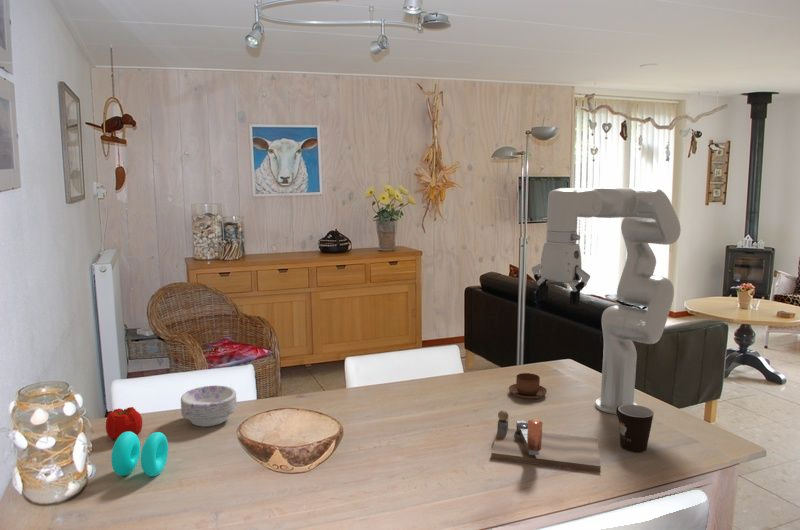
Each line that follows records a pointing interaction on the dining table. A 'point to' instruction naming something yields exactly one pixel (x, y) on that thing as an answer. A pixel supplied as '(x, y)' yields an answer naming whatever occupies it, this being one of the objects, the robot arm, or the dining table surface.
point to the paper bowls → (208, 405)
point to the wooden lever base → (546, 449)
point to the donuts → (129, 453)
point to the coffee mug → (634, 427)
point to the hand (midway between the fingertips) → (558, 302)
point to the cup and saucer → (527, 386)
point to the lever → (531, 435)
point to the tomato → (123, 422)
